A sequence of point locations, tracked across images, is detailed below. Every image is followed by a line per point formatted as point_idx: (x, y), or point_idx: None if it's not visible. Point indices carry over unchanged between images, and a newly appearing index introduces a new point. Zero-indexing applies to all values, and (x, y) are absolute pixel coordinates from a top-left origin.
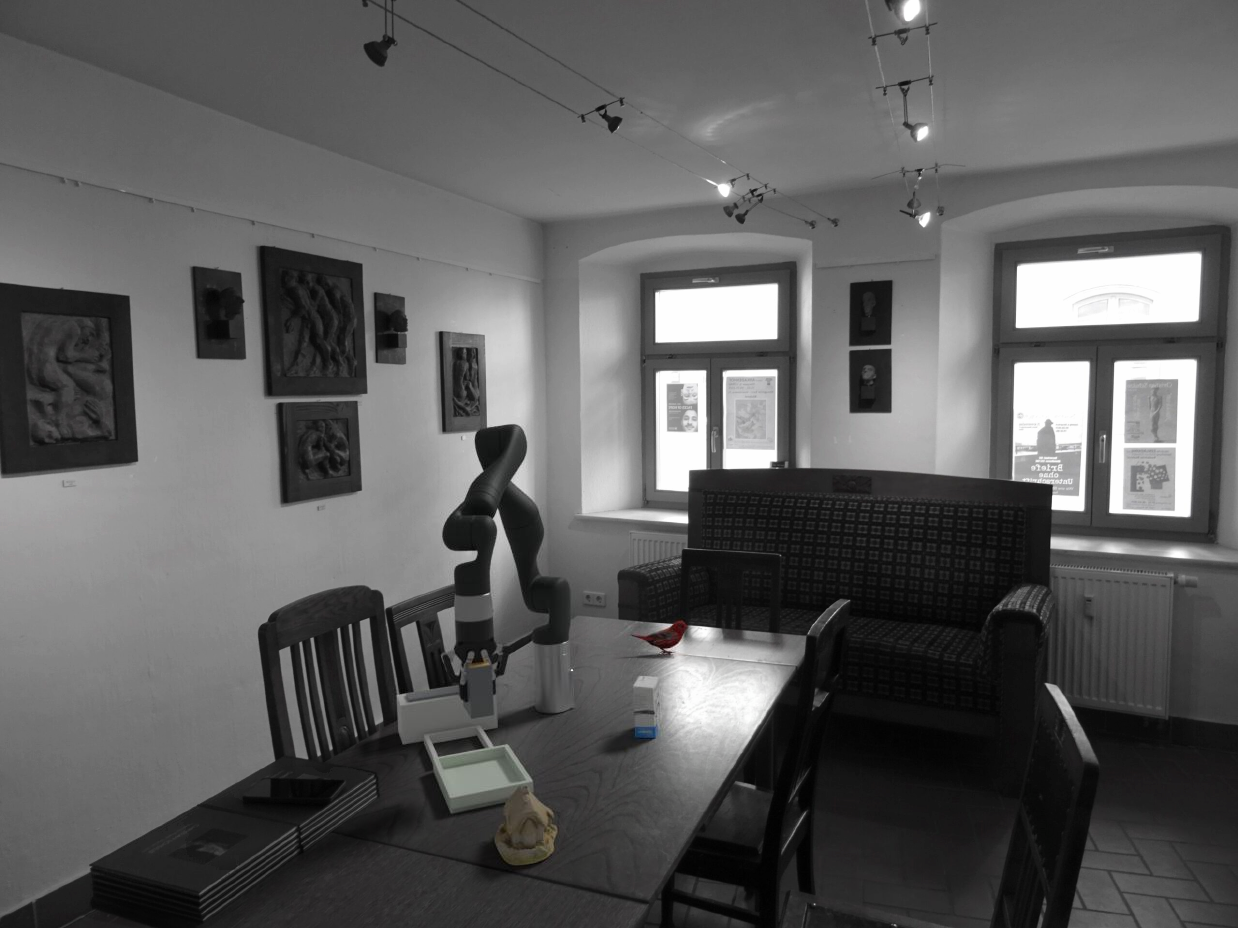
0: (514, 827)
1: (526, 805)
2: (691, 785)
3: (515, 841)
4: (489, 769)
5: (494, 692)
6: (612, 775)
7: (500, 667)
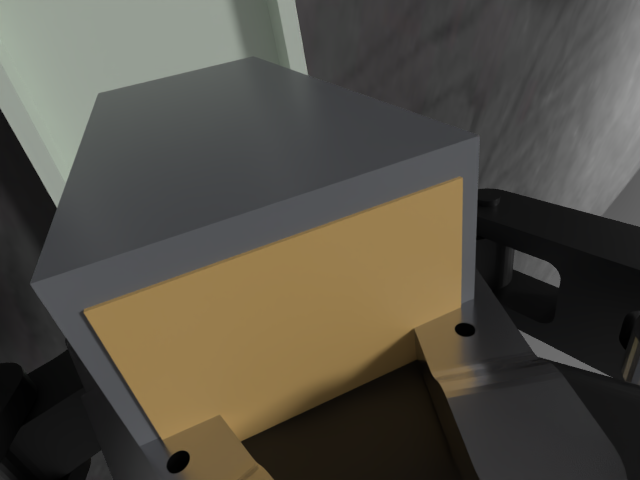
0: None
1: None
2: (582, 198)
3: None
4: (197, 32)
5: None
6: (494, 129)
7: (510, 317)
